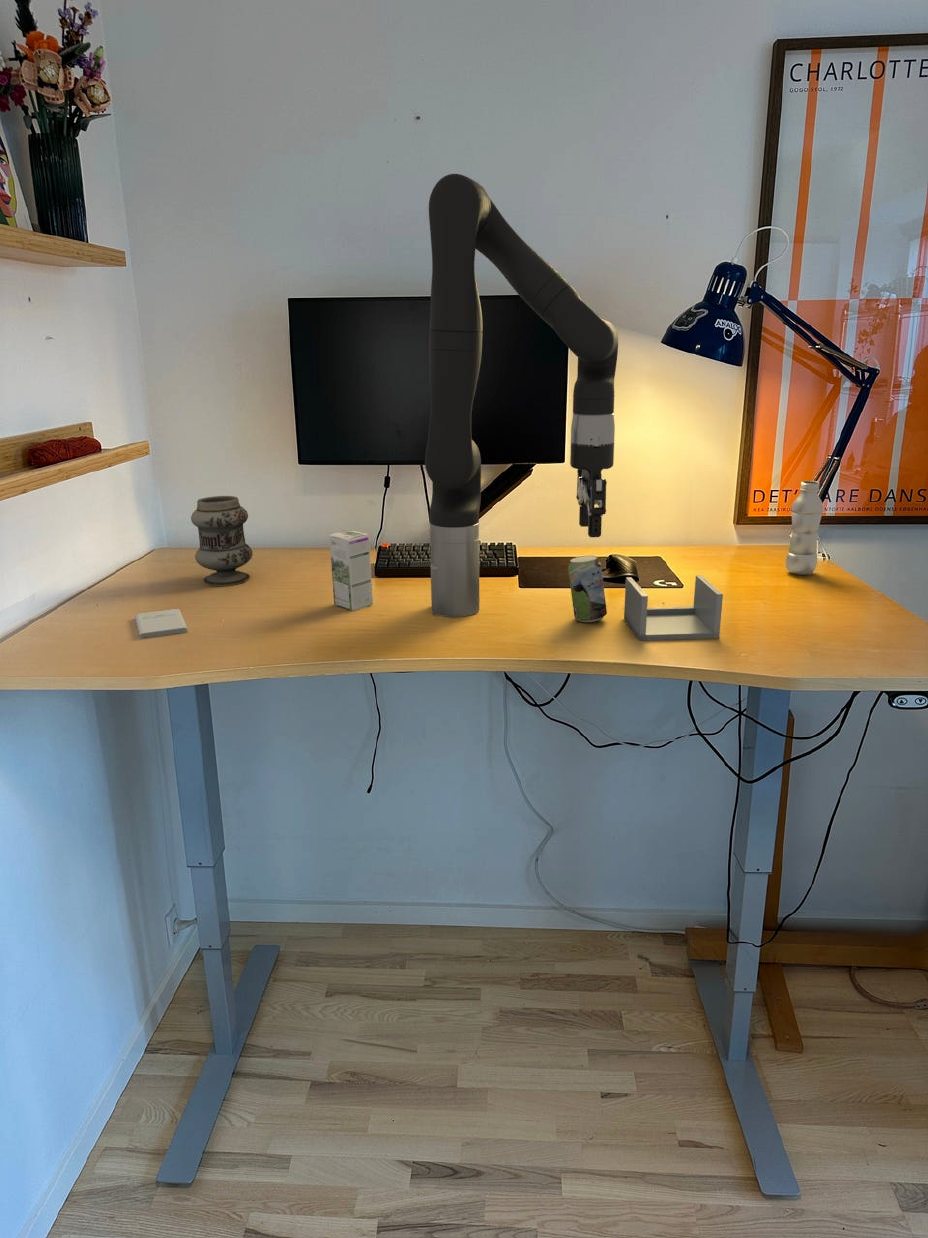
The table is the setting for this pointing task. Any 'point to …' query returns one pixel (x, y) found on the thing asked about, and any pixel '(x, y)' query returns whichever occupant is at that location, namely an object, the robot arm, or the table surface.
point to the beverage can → (587, 588)
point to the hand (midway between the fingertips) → (589, 531)
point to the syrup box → (351, 569)
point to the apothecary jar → (222, 539)
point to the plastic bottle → (805, 530)
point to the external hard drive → (160, 623)
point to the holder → (674, 614)
